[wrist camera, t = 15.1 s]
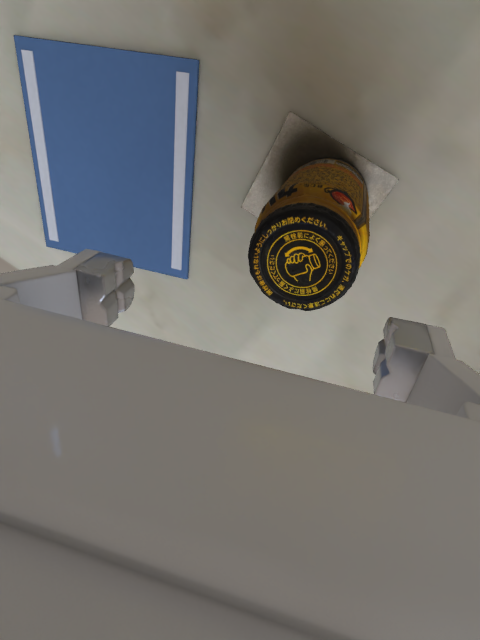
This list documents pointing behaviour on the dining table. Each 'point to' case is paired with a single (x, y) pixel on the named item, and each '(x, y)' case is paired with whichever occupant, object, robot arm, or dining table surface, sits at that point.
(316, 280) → the condiment
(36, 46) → the napkin
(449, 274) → the dining table surface
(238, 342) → the dining table surface
